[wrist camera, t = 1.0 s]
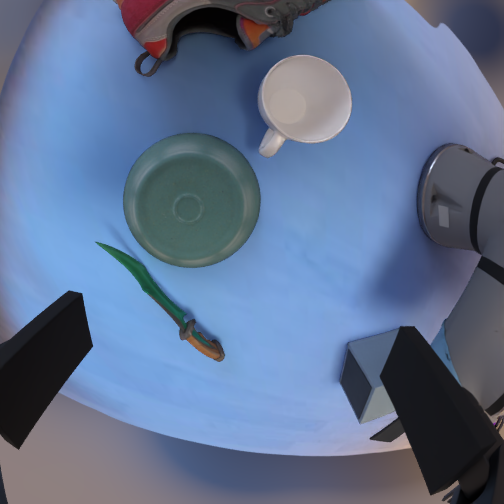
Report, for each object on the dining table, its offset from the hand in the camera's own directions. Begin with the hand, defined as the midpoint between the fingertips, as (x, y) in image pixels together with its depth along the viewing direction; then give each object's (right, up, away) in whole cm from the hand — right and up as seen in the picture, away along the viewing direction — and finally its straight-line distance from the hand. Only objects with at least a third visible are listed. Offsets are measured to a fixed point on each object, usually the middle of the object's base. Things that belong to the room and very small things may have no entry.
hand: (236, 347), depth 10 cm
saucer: (-5, +8, +16) cm, 18 cm away
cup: (+4, +18, +16) cm, 24 cm away
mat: (+44, -47, +50) cm, 82 cm away
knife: (-9, -1, +22) cm, 24 cm away
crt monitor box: (+22, -16, +28) cm, 39 cm away
